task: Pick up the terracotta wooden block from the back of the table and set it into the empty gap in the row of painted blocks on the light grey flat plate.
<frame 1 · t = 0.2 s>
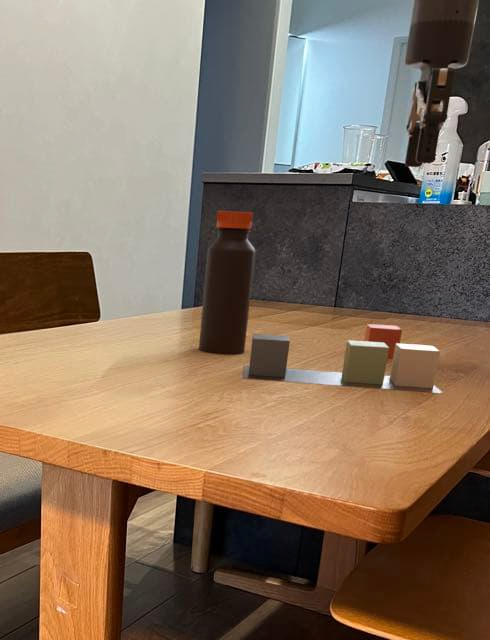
hand: (418, 164, 112), 27 cm above the table, tool pointing down, fingers open, 8 cm apart
cream block: (410, 383, 108), point 1 cm above the table, touching light grey flat plate
terracotta block: (379, 357, 133), on the table
slate block: (266, 373, 111), point 1 cm above the table, touching light grey flat plate
sage block: (361, 380, 109), point 1 cm above the table, touching light grey flat plate
light grey flat plate: (337, 383, 110), on the table
bottle: (220, 355, 128), on the table
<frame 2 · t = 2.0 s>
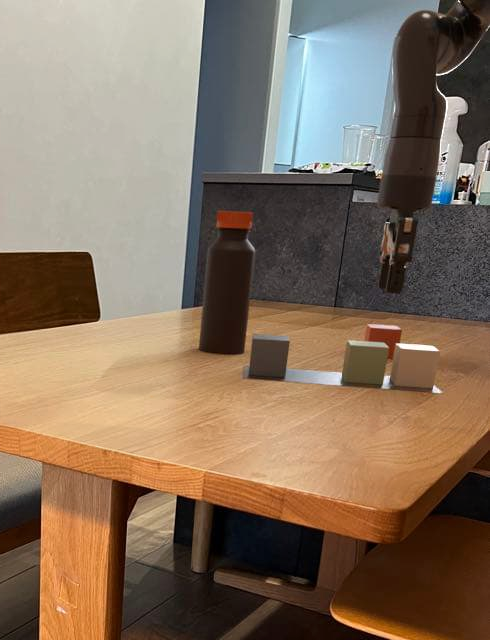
hand: (389, 290, 129), 10 cm above the table, tool pointing down, fingers open, 8 cm apart
nothing on the table moved.
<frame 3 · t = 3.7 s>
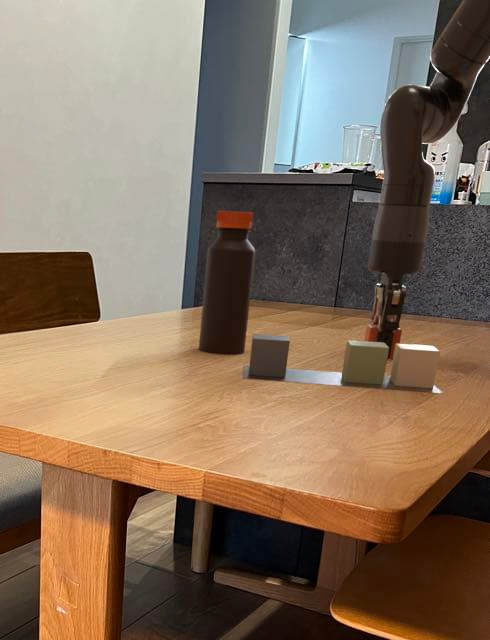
hand: (379, 354, 133), 0 cm above the table, tool pointing down, fingers closed on terracotta block, 4 cm apart
terracotta block: (379, 357, 133), on the table, touching gripper
everything else where it was.
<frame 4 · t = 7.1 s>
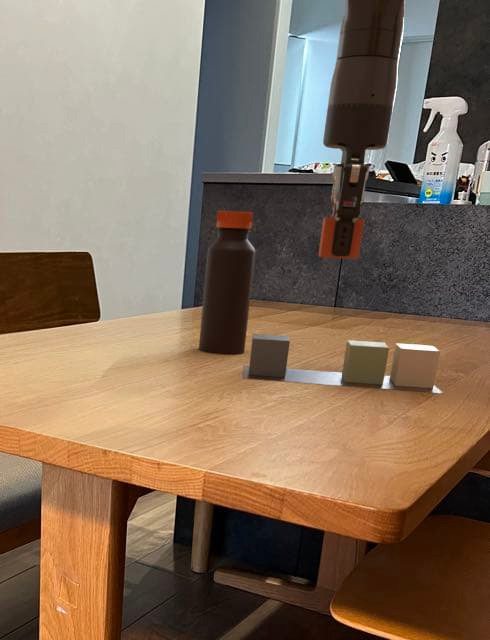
hand: (338, 254, 108), 16 cm above the table, tool pointing down, fingers closed on terracotta block, 4 cm apart
terracotta block: (337, 257, 108), point 15 cm above the table, touching gripper
everything else where it was.
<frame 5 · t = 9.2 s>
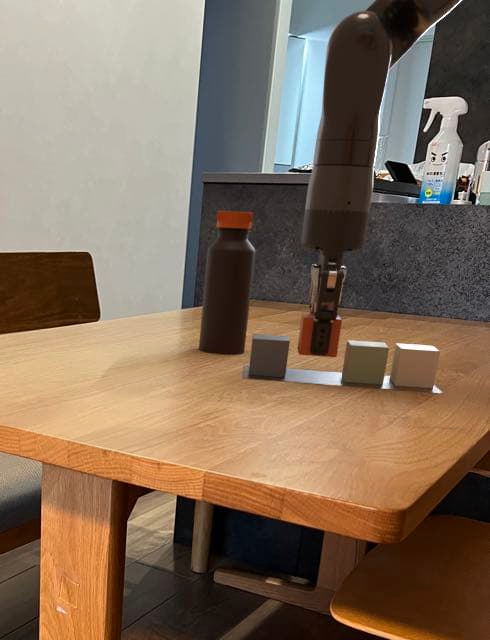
hand: (317, 350, 109), 4 cm above the table, tool pointing down, fingers closed on terracotta block, 4 cm apart
terracotta block: (316, 353, 109), point 4 cm above the table, touching gripper
everything else where it was.
when the fingers open (1 cm above the table, at t = 10.6 s): terracotta block stays where it is, resting on light grey flat plate.
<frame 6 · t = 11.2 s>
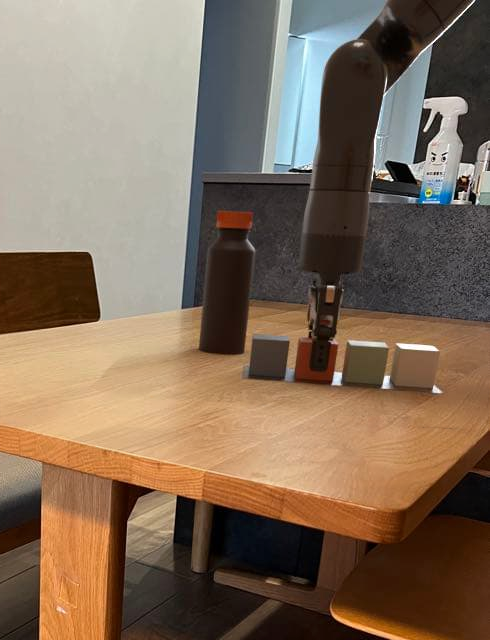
hand: (315, 365, 110), 2 cm above the table, tool pointing down, fingers open, 8 cm apart
terracotta block: (313, 376, 110), point 1 cm above the table, touching light grey flat plate
everything else where it was.
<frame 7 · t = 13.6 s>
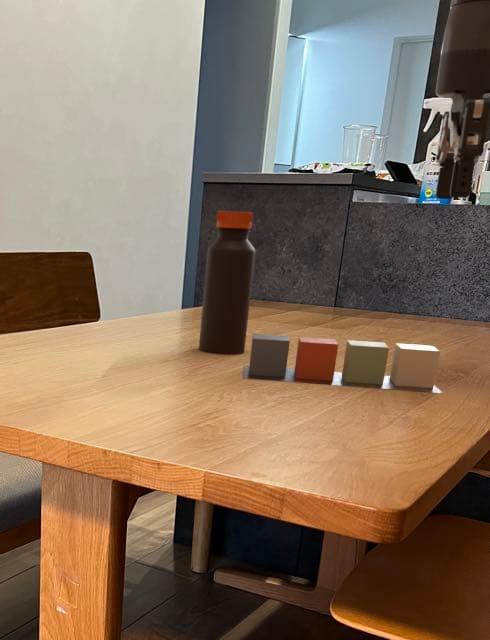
hand: (451, 198, 107), 23 cm above the table, tool pointing down, fingers open, 8 cm apart
nothing on the table moved.
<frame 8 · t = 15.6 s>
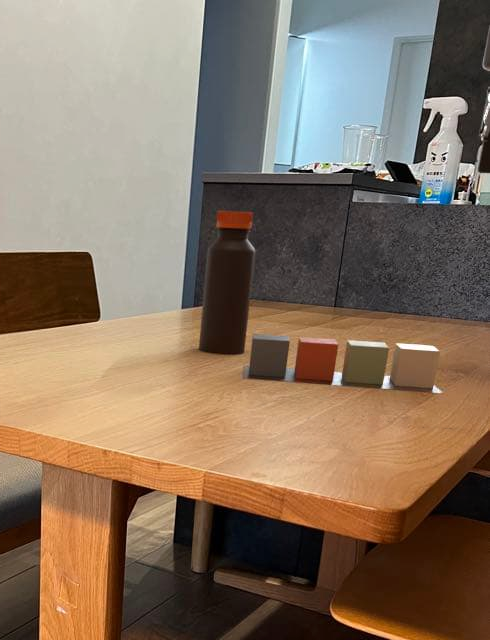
nothing on the table moved.
at the end: terracotta block 0.1 cm from the target spot on the light grey flat plate, point 0.6 cm above the light grey flat plate's base; terracotta block tilted 0°; slate block moved 0.0 cm from its start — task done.
